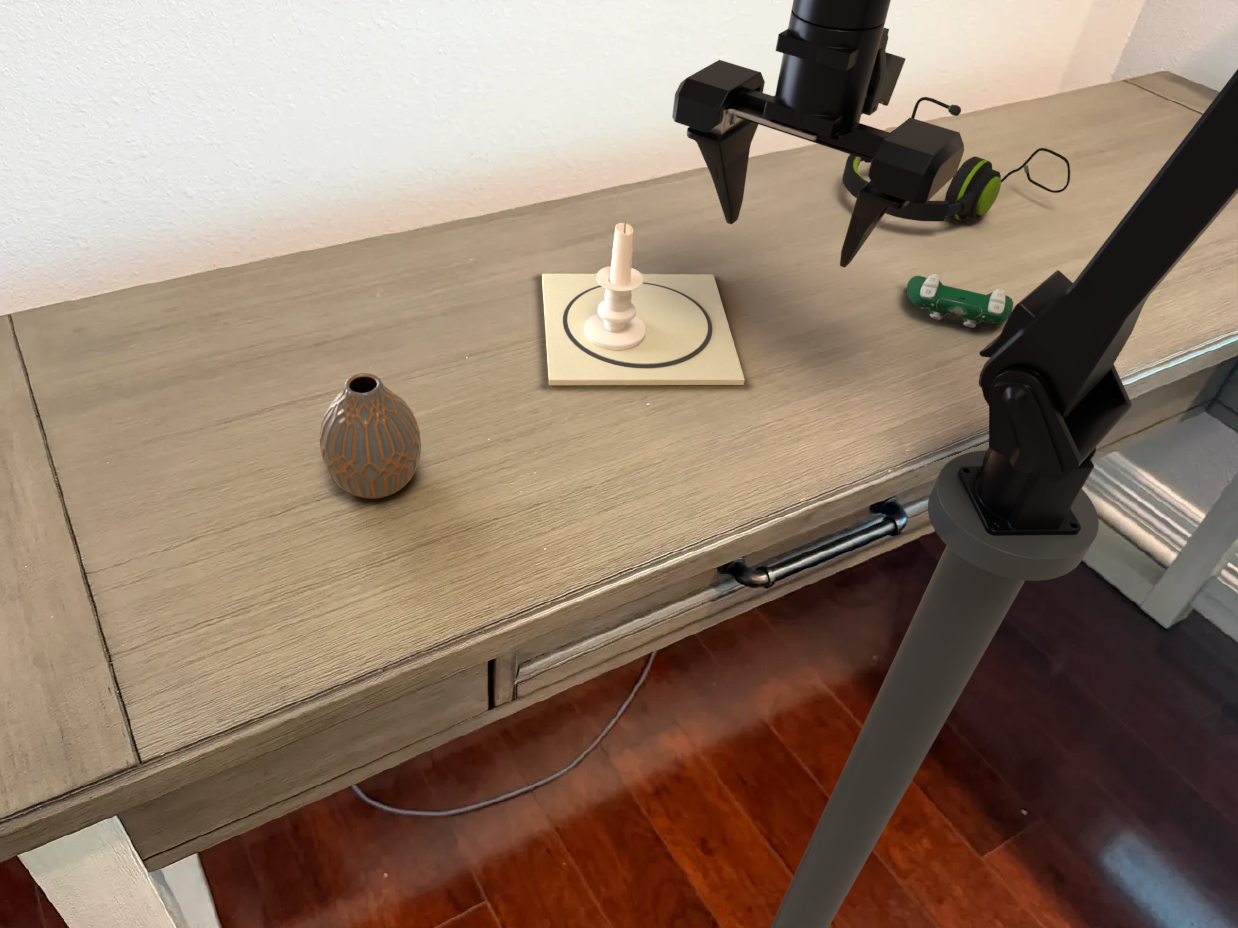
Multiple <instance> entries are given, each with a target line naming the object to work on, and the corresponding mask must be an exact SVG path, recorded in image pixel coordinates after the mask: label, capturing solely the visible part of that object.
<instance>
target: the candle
mask: <svg viewBox="0 0 1238 928" xmlns="http://www.w3.org/2000/svg"><path fill="white" fill-rule="evenodd" d="M634 231H635V230H634V228H633V226H632V225H631V224H629V223H627V221H626V220H625V221H624V222H619V223H616V225H615V226H614V236H613V243H612V250H611V251H612V252H611V261H610V265H609V266H608V265H607V266H605V267H603V268H601V269H600V270H598V271H597V273H596V274H597V275H596V280H597V282H598V283H599V285H601V286H602V287H604V288H606V291H605V300H604V301H602V302H601V303H600V304H599V306H598V313H597V314H595V315H593V316H591V317H590V318H589V319H588V320H587V321H586V323H585V330H584V332H585V335H586V337H587V338H588V340H589V341H590V342H592V343H593V344H594V345H596V346H599V347H601V348H604V349H608V350H626V349H631V348H633V347H635V346H637V345H639V344H640V343H641V342H642V341H643V340H644V338H645V333H646V328H645V325H644V323H643V322H642V321H641V320H640V319H638V318H637V317H636V316H635V315H636V308H635V306H634V305H633V303H631V298H632V294H631V291H632V290H635V289H637V288H639V287H640V286H641V285H642V284H643V279H644V278H643V276H642V274H643V273H642V272H641V271H638V270H637V268H636V269H635V268H633V267H632V263H633V253H634V252H633V251H634V235H635V233H634Z"/></svg>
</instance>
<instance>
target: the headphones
mask: <svg viewBox="0 0 1238 928" xmlns="http://www.w3.org/2000/svg"><path fill="white" fill-rule="evenodd" d="M923 101H926V102H931V103H933V104H936V105H937V106H940V107H942V108H945V109H946V110H947V111H948V113H949V114H950V115H951V116H954V117H958V116H960V114H961V113H962V108H961V106H959V105H957V104H950V105H949V104H947V103H944V102H942V101H940V100H938V99H936V98H933V97H930V96H929V97H928V96H921V97H920V98H919V99H917V101H916V103H915V104H914V106H913V110H912V113H911V116H910V118H913V119H916V115H917V111H918V108H919V106H920V103H922V102H923ZM894 130H895V129H893V130H892V131H894ZM892 131H889V132H890V133H891V132H892ZM1039 152H1046V153H1049V154H1051V155H1053V156H1055V157H1056V158H1057V157H1058V158H1060V160H1063V161H1064V162H1065V164H1066V167H1067V177H1066V178H1067V179H1066V180H1067V181H1066V184H1065V185H1064V186H1063V188H1060V189H1058V190H1057V189H1055V190H1054V189H1050V188H1048V187H1046V186H1044V185H1043V184H1041V183H1039V182H1037V181H1035V180H1033V179H1032V178H1031V174H1030V167H1029V165H1028V164H1029V162H1030V161H1031V160H1032V159H1034V157H1035V156H1036V155H1037V154H1038V153H1039ZM862 162H864V163H866V164H867V163H868V164H871V161H869V160H866V159H863V158H860V157H857V156H854V155H851V154H848V156H847V158H846V162H845V165H844V170H843V174H842V180H841V181H842V184H843V186H844V189H846V191H848V192H849V194H850V195H851V196H853V198H855V199H857V196H858V193H859V190H860V189H861V188H862V187H864V186H865V185H866V184H867V183H868V182H869V181H868V180H867V179H865V178H864V177H862V175H861V174H860V172H859V166H860V163H862ZM1022 169H1023V170H1024V173H1025V175H1026V178H1027V180H1028V182H1029V183H1031V184H1033V185H1034V186H1036V187H1039V188H1041V189H1042V190H1045V191H1046V192H1049V193H1052V194H1058V193H1062V192H1064V191H1065V190H1066V189H1067V188H1068V187H1069V184H1070V182H1071V166H1070V162H1069V160H1068V159H1067V157H1065V156H1063V155H1062V154H1060V153H1058V152H1056V151H1054V150H1052V149H1050V148H1047V147H1039V148H1037V149H1036V150H1035V151H1034V152H1033V153H1031V155H1030V156H1029V157H1028V158H1027V159H1025V158H1023V163H1022V164H1021V165H1020V166H1019V167H1018V168H1015V169H1013V170H1010V171H1009V172H1008V173H1007V174H1005V175H1004V176H1003V177H1002V175H1001V172H1000V171H998V170H995V169H993V163H992V162H991V160H988V159H985V158H983V157H982V158H981V157H979V156H972V157H969V158H968V159H966V160H965V161H964V162H963V163H962V164H960V166H959V167H958V170H957V173H956V175H955V176H954V177H953V178H952V179H951V180H950V183H949V185H948V188H947V190H946V192H945V196H944V200H929V201H927V202H926V203H912V202H909V203H908V204H907V205H906V206H905V207H904V208H902V209H892V208H889V209H888V211H887V212H886V213H885V214H886V215H889V216H891V217H894V218H895V217H896V218H900V219H903V220H908V221H909V220H910V221H917V222H945V219H946V217H950V218H953V219H956V220H958V221H965V220H967V219H969V220H972V221H978V220H980V219H982V218H983V217H984V216H985V215H986V214H987V213H988V212H989V211H990V209H991V208H992V207H993V205H994V203H995V202H996V199H997V198H998V195H999V193H1000V191H1001V186H1002V183H1003V182H1004V181H1005V180H1007V179H1008V178H1009V177H1010V176H1011V175H1012V174H1015V173H1017V172H1020V171H1021V170H1022Z"/></svg>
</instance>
